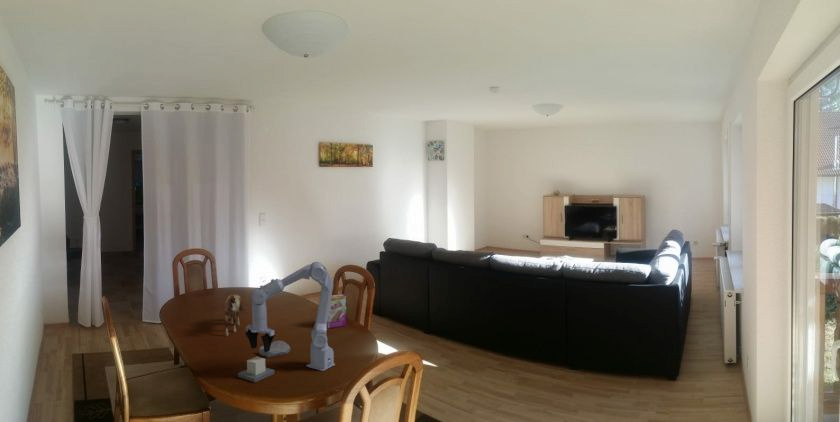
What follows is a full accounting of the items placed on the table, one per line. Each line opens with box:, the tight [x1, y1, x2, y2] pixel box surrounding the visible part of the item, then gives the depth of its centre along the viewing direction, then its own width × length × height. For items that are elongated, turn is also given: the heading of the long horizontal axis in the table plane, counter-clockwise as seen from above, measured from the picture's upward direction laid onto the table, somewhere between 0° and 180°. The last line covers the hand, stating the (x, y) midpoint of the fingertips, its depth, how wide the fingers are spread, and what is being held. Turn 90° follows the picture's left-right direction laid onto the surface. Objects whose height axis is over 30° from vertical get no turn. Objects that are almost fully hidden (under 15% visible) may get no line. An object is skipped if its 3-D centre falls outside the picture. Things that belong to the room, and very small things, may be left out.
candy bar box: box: [327, 294, 347, 330], centre depth 271 cm, size 11×5×16 cm, turn 120°
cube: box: [246, 356, 266, 375], centre depth 209 cm, size 5×5×5 cm
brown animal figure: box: [223, 294, 247, 337], centre depth 266 cm, size 31×8×21 cm, turn 10°
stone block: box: [258, 340, 291, 359], centre depth 234 cm, size 12×5×10 cm
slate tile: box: [237, 366, 275, 383], centre depth 209 cm, size 10×10×2 cm
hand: (260, 349), depth 212 cm, fingers open, 7 cm apart
